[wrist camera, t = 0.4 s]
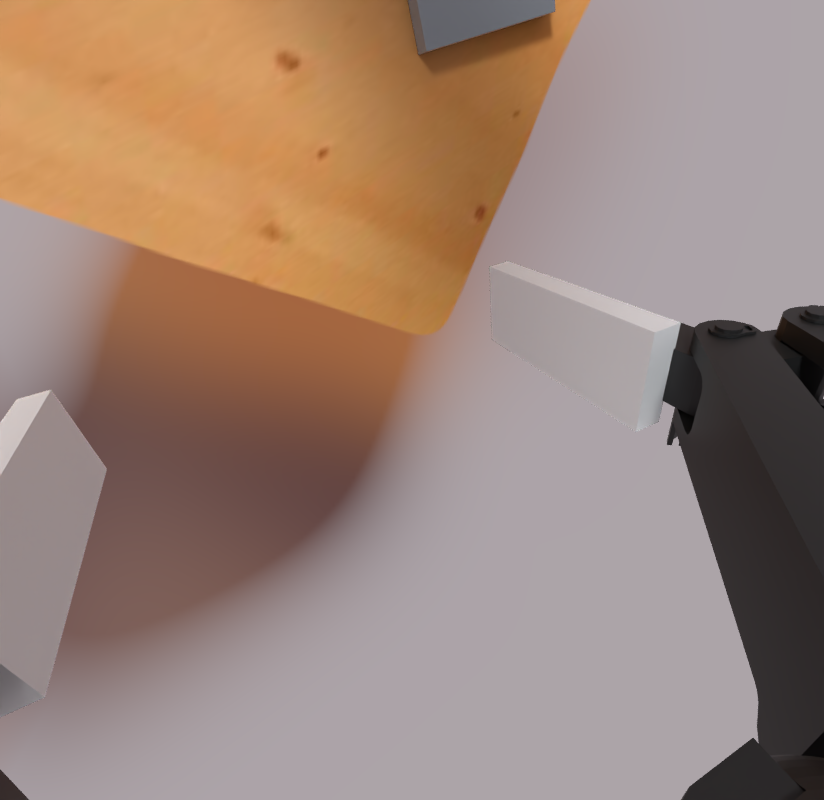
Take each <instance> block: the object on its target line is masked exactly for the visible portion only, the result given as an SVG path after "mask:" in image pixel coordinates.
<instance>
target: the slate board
mask: <svg viewBox="0 0 824 800" xmlns="http://www.w3.org/2000/svg"><path fill="white" fill-rule="evenodd" d="M408 4H409V9H410V14H411V19H412V24H413V30H414V35H415V40H416V45H417V50H418V55H420V54H424V53H427V52H430V51H433V50H436V49H440V48H443V47H446V46H449V45H452V44H456V43H459V42H462V41H465V40H468V39H472V38H475V37H478V36H481V35H484V34H488V33H491V32H494V31H497V30H500V29H503V28H507V27H510V26H513V25H516V24H519V23H523V22H526V21H529V20H532V19H535V18H539V17H542V16H545V15H547V14H550V13H552V12H555V0H408Z"/></svg>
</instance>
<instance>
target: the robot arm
mask: <svg viewBox="0 0 824 800" xmlns="http://www.w3.org/2000/svg"><path fill="white" fill-rule="evenodd" d="M489 271H490V298H491V327H492V340H493V341H495V342H496V343H498V344H499V345H501V346H502V347H504V348H505V349H507V350H509V351H510V352H512V353H513V354H515V355H516V356H518V357H520V358H521V359H523V360H524V361H526V362H528V363H529V364H530V365H532V366H534V367H535V368H537V369H538V370H540V371H541V372H543V373H544V374H546V375H548V376H549V377H551V378H552V379H554V380H555V381H557V382H559V383H560V384H562V385H563V386H565V387H567V388H568V389H569V390H571V391H573V392H574V393H576V394H577V395H579V396H580V397H582V398H584V399H585V400H587V401H588V402H590V403H591V404H593V405H594V406H596V407H598V408H599V409H601V410H602V411H604V412H605V413H607V414H608V415H610V416H612V417H613V418H615V419H616V420H618V421H619V422H621V423H623V424H624V425H626V426H627V427H629V428H630V429H632V430H634V431H635V432H637V431H639V430H641V429H644V428H646V427H648V426H650V425H653V424H655V423H657V422H659V418H660V413H661V409H662V405H663V401H665V402H666V403H668V404H670V405H672V406H674V407H675V410H674V414H673V418H672V422H671V427H670V431H669V435H668V439H667V445H672V442H673V439H674V438H676V437H677V436H678V439H679V446H681V449H682V452H683V455H684V458H685V461H686V464H687V468H688V471H689V474H690V477H691V481H692V483H693V487H694V490H695V493H696V496H697V500H698V502H699V506H700V509H701V512H702V515H703V519H704V522H705V525H706V528H707V531H708V534H709V538H710V541H711V544H712V547H713V550H714V553H715V557H716V560H717V563H718V566H719V569H720V573H721V575H722V579H723V582H724V585H725V588H726V591H727V595H728V598H729V601H730V604H731V607H732V611H733V614H734V617H735V620H736V623H737V626H738V630H739V633H740V636H741V639H742V642H743V645H744V649H745V652H746V655H747V658H748V661H749V665H750V668H751V671H752V674H753V677H754V680H755V684H756V688H757V693H758V701H759V704H758V720H757V721H758V722H757V730H758V740H759V744H758V743H757V742H756V740H755V739H754V738H752V739H751V740H750V741H748V742H747V743H746V744H744V745H743V746H742V747H740V748H739V749H738V750H736V751H735V752H734V753H733V754H731V755H730V756H729V757H727V758H726V759H725V760H724V761H722V762H721V763H720V764H719V765H717V766H716V767H714V768H713V769H712V770H711V771H709V772H708V773H707V774H705V775H704V776H703V777H702V778H700V779H699V780H698V781H696V782H695V783H694V784H692V785H691V786H690V787H689V788H688V790H687V791H686V793H685V794H684V796H683V797H682V799H681V800H824V399H823V396H824V306H816V305H810V306H808V307H795V308H790V309H788V310H786V311H784V312H783V314H782V317H781V320H780V323H779V326H778V329H777V330H771V331H764V332H761V331H760V330H758V329H757V328H755V327H754V326H752V325H749V324H745V323H741V322H736V321H729V320H714V321H707V322H703V323H700V324H698V325H697V326H696V327H695V328H694V327H691V326H688V325H685V324H683V323H680V322H678V321H675V320H672V319H669V318H667V317H664V316H661V315H658V314H655V313H652V312H649V311H647V310H644V309H641V308H639V307H636V306H633V305H630V304H627V303H625V302H622V301H619V300H616V299H613V298H611V297H607V296H605V295H602V294H599V293H596V292H594V291H591V290H588V289H585V288H583V287H580V286H577V285H574V284H571V283H569V282H566V281H563V280H560V279H557V278H554V277H552V276H549V275H546V274H543V273H541V272H538V271H535V270H532V269H529V268H527V267H524V266H521V265H518V264H515V263H513V262H510V261H507V262H503V263H500V264H496V265H493V266H490V267H489ZM106 470H107V469H106V467H105V466H104V464H103V463H102V461H101V460H100V458H99V457H98V456H97V454H96V453H95V451H94V450H93V449H92V447H91V446H90V444H89V443H88V442H87V440H86V439H85V437H84V436H83V435H82V433H81V431H80V430H79V429H78V427H77V426H76V424H75V423H74V421H73V420H72V419H71V417H70V416H69V414H68V413H67V412H66V410H65V409H64V407H63V406H62V404H61V403H60V402H59V400H58V399H57V397H56V396H55V394H54V393H53V392H52V390H48V391H44V392H41V393H37V394H34V395H31V396H27V397H23V398H19V399H17V400H16V401H15V403H14V404H13V405H12V407H11V408H10V410H9V411H8V412H7V414H6V415H5V417H4V418H3V420H2V421H1V422H0V717H2V716H5V715H7V714H9V713H11V712H14V711H16V710H18V709H20V708H22V707H25V706H27V705H29V704H31V703H34V702H36V701H38V700H40V699H42V698H45V696H46V692H47V688H48V685H49V681H50V677H51V673H52V670H53V666H54V662H55V659H56V655H57V651H58V648H59V644H60V640H61V636H62V633H63V629H64V625H65V622H66V618H67V614H68V611H69V607H70V603H71V599H72V596H73V592H74V588H75V585H76V581H77V577H78V573H79V570H80V566H81V563H82V559H83V555H84V551H85V548H86V544H87V540H88V537H89V533H90V529H91V525H92V522H93V518H94V514H95V511H96V507H97V503H98V500H99V496H100V492H101V488H102V485H103V481H104V477H105V474H106ZM0 800H28V798H27V797H26V796H25V795H24V794H23V793H22V792H21V791H20V790H19V789H18V788H17V787H16V786H15V784H14V783H13V782H12V781H11V780H9V778H8V777H7V776H6V775H5V774H4V773H3V772H2V771H1V770H0Z"/></svg>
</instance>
